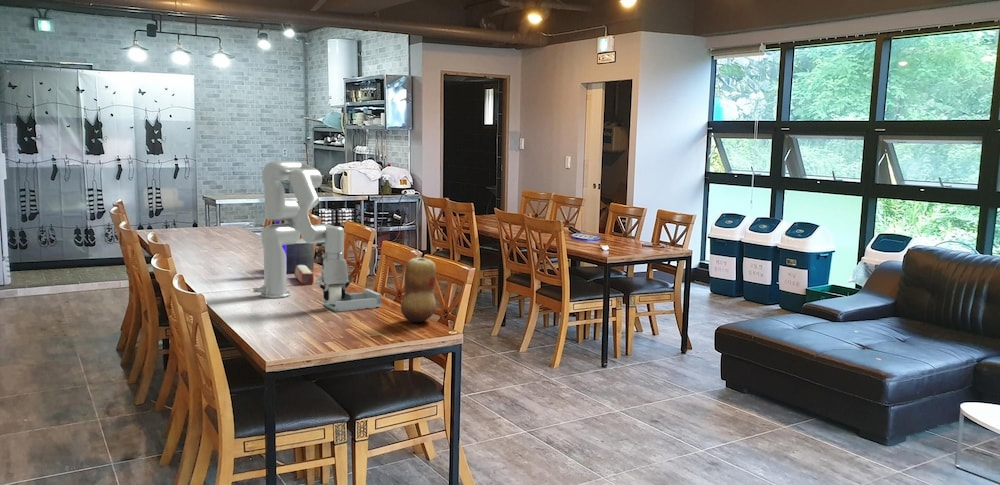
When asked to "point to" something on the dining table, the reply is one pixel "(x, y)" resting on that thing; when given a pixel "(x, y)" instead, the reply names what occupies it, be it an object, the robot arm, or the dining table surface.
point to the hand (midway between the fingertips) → (334, 298)
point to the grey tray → (357, 301)
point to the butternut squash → (419, 290)
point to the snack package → (304, 275)
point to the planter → (300, 255)
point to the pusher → (347, 297)
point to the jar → (335, 293)
